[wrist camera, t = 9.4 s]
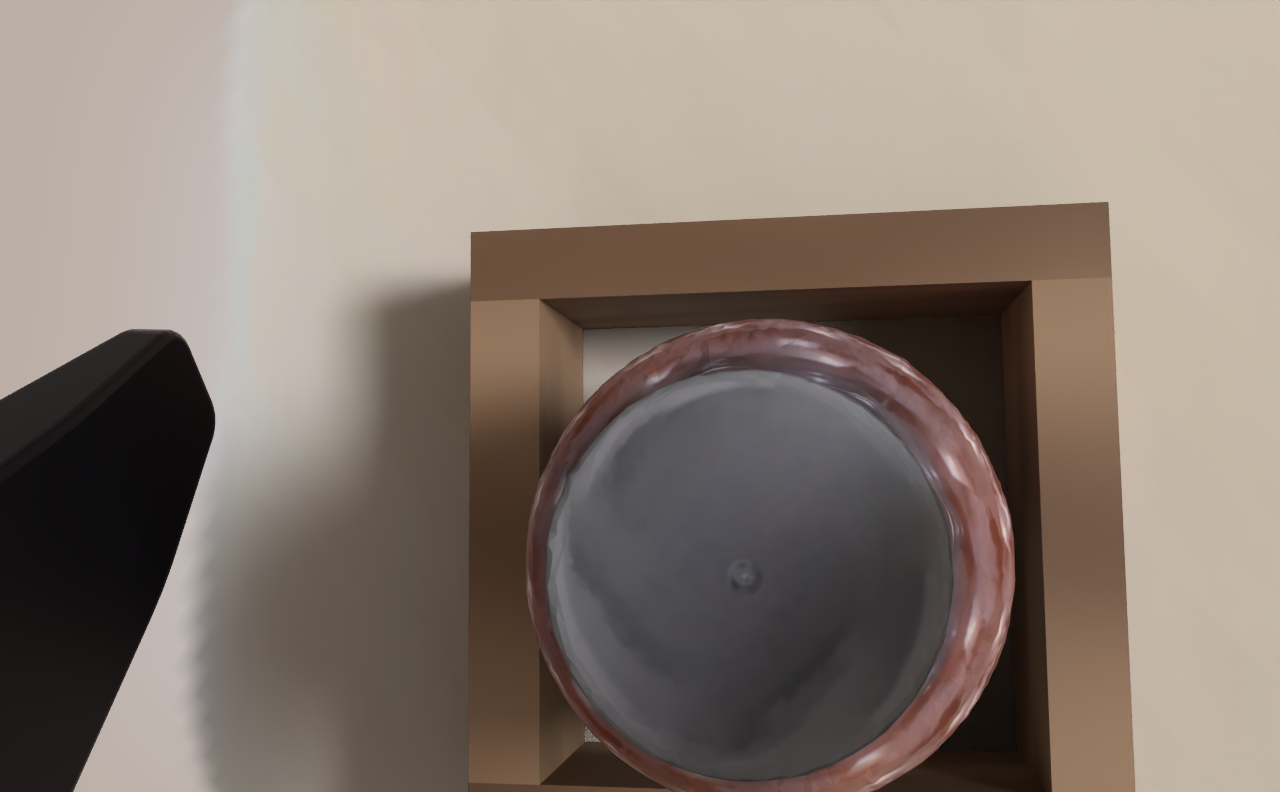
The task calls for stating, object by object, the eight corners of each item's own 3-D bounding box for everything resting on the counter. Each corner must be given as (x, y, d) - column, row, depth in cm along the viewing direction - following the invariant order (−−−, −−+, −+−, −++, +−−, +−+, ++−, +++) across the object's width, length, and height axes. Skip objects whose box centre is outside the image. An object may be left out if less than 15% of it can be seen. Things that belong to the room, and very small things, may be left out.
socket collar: (1089, 823, 21) (1139, 886, 18) (523, 803, 23) (468, 857, 19) (1066, 249, 22) (1108, 202, 19) (524, 271, 24) (470, 232, 20)
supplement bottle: (1007, 471, 22) (1192, 437, 11) (865, 760, 22) (901, 1029, 11) (719, 333, 23) (613, 173, 12) (583, 608, 23) (347, 709, 12)
